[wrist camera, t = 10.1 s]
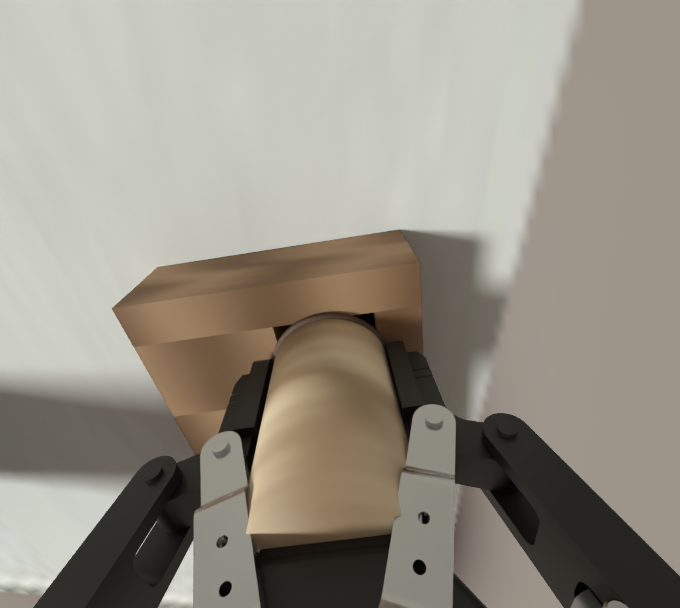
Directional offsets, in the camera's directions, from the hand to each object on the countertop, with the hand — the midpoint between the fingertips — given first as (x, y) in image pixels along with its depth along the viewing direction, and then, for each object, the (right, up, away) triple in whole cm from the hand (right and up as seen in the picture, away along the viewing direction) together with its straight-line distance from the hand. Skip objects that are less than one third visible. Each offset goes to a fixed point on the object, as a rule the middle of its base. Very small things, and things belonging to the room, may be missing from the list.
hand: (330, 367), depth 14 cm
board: (-1, -2, +7) cm, 7 cm away
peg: (0, +2, +3) cm, 4 cm away
